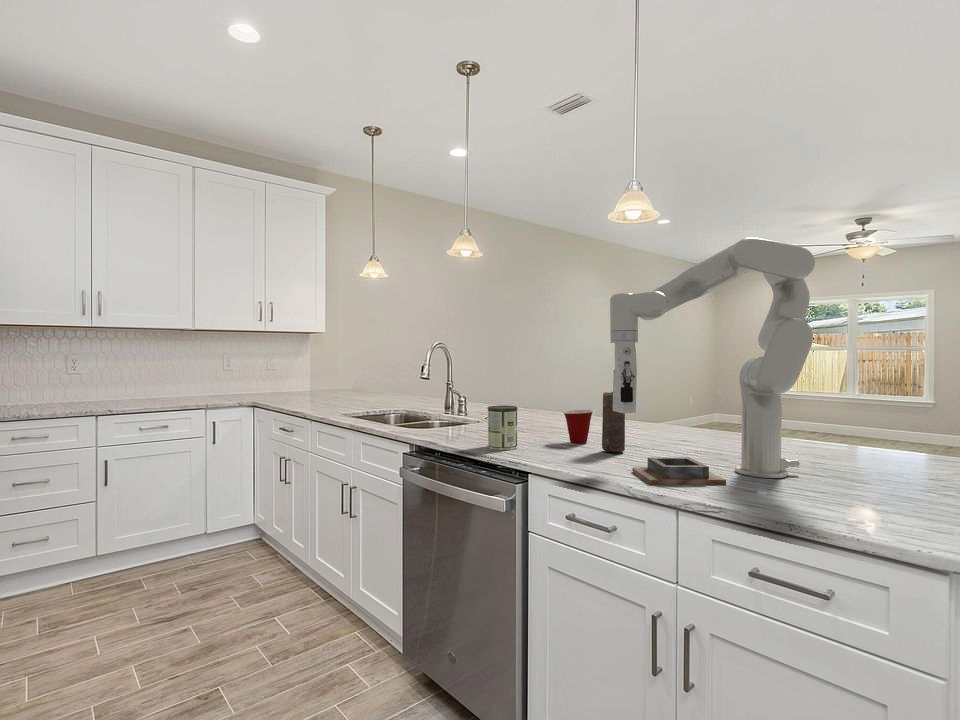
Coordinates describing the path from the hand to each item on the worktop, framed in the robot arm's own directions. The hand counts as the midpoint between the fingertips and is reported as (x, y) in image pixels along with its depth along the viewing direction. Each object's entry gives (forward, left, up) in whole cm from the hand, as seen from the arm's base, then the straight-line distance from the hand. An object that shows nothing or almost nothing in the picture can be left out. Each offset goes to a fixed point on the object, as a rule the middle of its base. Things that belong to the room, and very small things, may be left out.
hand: (624, 400), depth 145 cm
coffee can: (+32, -33, -20) cm, 50 cm away
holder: (-11, +11, -19) cm, 25 cm away
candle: (-4, -24, -20) cm, 31 cm away
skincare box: (0, 0, -4) cm, 4 cm away
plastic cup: (+4, -42, -20) cm, 47 cm away
